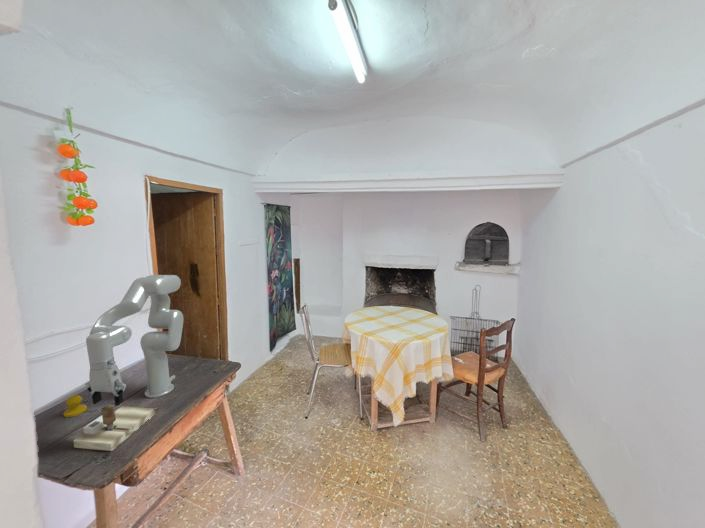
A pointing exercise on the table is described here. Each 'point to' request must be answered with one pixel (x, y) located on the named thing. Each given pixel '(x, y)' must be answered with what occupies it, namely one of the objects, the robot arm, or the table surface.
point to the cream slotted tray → (116, 429)
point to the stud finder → (94, 426)
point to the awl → (108, 416)
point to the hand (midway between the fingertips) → (108, 402)
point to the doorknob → (74, 406)
